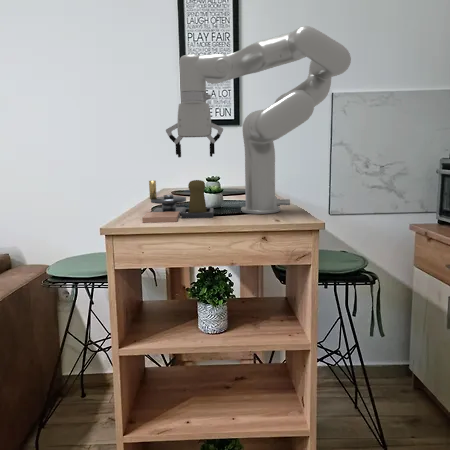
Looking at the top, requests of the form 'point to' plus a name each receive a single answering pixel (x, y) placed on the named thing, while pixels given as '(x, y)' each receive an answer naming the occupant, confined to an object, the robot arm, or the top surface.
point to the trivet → (161, 217)
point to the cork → (197, 196)
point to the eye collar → (197, 214)
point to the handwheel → (167, 198)
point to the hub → (169, 208)
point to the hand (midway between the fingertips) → (195, 156)
